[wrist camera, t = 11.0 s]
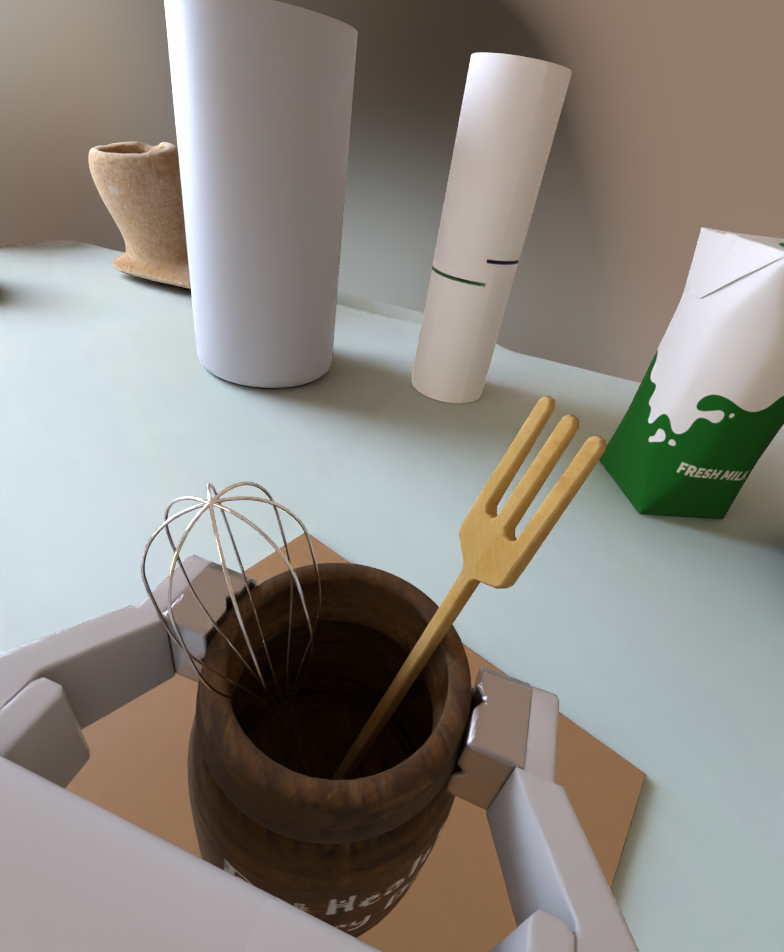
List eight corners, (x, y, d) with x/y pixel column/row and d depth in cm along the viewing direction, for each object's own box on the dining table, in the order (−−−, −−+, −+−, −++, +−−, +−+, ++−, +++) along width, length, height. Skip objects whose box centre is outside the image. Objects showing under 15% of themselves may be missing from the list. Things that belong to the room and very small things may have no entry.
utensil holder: (191, 736, 14) (122, 337, 7) (390, 679, 17) (482, 340, 10) (210, 1019, 10) (86, 712, 3) (474, 888, 12) (748, 550, 5)
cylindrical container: (493, 402, 47) (592, 73, 33) (426, 404, 45) (501, 49, 30) (463, 371, 53) (536, 75, 38) (401, 370, 50) (455, 55, 36)
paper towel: (-166, 837, 15) (-170, 835, 15) (306, 533, 29) (306, 531, 29) (263, 2009, 6) (263, 2026, 6) (643, 776, 20) (645, 774, 20)
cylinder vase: (339, 348, 53) (365, 44, 38) (319, 400, 42) (345, 12, 28) (223, 330, 52) (205, 14, 38) (175, 378, 42) (125, -29, 27)
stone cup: (86, 277, 59) (55, 127, 51) (159, 262, 69) (143, 133, 60) (189, 308, 56) (174, 153, 47) (251, 287, 65) (248, 155, 56)
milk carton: (633, 521, 35) (815, 207, 23) (583, 451, 42) (702, 185, 30) (741, 528, 36) (965, 234, 24) (674, 459, 43) (822, 207, 32)
